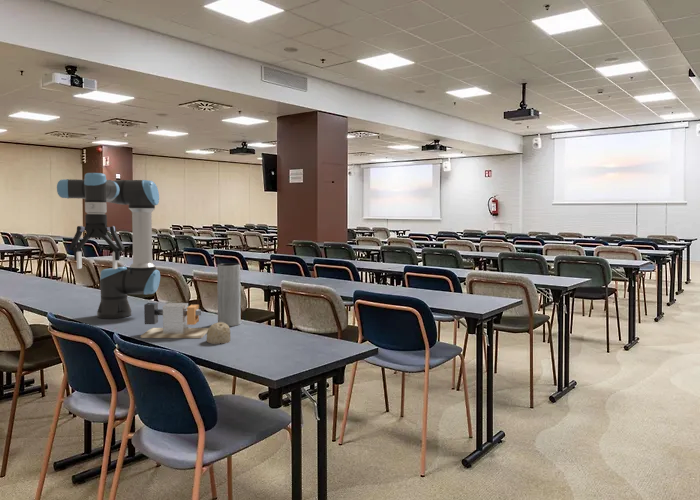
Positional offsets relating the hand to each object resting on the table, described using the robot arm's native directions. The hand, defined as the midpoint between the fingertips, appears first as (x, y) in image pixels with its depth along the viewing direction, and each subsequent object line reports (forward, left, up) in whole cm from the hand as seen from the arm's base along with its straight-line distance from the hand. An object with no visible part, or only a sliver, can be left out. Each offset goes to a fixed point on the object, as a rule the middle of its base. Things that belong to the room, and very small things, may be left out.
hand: (97, 268), depth 211 cm
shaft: (-11, +26, -23) cm, 37 cm away
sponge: (+1, +47, -28) cm, 55 cm away
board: (-11, +27, -28) cm, 40 cm away
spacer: (-11, +34, -20) cm, 41 cm away
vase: (-31, +45, -28) cm, 61 cm away
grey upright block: (-11, +27, -28) cm, 40 cm away
